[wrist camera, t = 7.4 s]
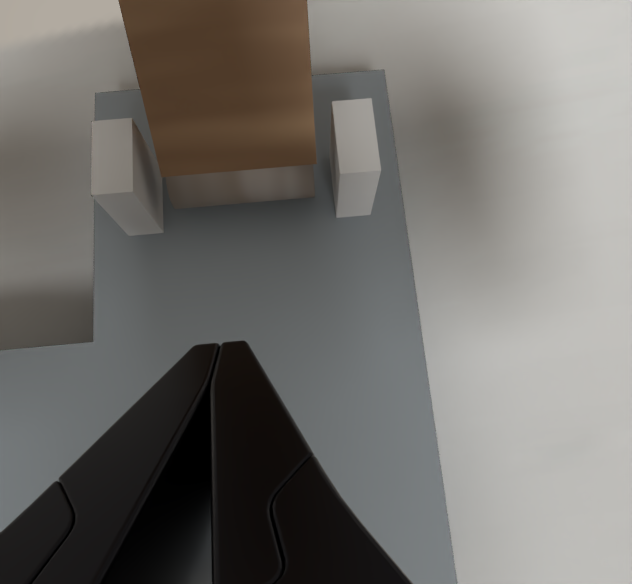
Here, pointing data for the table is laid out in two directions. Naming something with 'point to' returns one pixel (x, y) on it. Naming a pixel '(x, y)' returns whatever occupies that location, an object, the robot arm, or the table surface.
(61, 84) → the table surface
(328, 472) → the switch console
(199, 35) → the orange capped lever
